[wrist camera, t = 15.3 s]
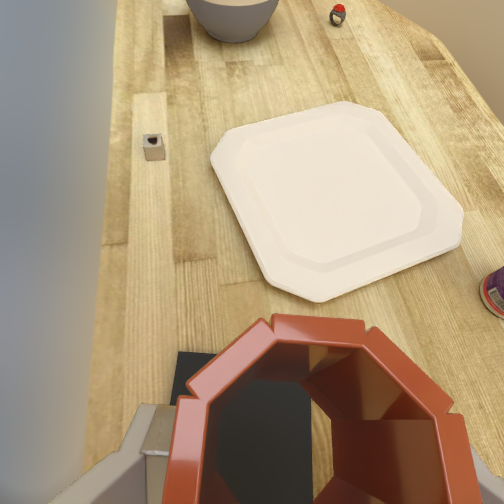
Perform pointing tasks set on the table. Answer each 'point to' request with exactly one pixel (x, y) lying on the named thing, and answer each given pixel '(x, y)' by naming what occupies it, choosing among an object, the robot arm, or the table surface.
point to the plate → (333, 199)
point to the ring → (338, 13)
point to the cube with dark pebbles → (153, 147)
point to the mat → (260, 438)
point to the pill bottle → (494, 292)
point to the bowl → (233, 17)
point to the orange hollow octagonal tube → (331, 415)
